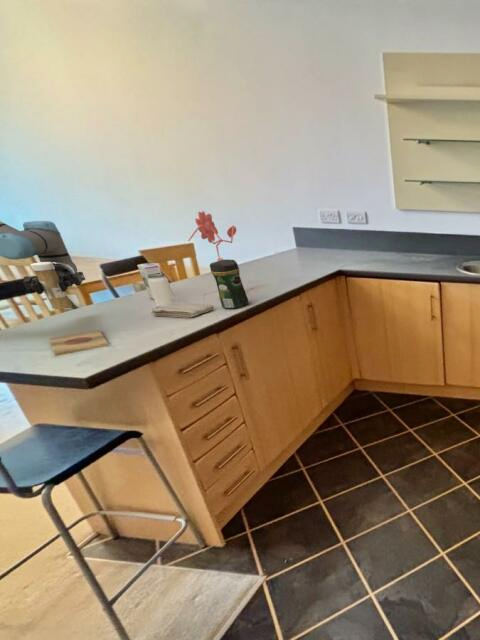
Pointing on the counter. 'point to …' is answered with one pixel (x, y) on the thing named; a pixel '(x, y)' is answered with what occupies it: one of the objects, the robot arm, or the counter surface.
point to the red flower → (211, 231)
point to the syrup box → (149, 274)
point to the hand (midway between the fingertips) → (49, 288)
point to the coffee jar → (229, 284)
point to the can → (161, 290)
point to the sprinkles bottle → (51, 285)
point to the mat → (77, 342)
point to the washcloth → (182, 309)
